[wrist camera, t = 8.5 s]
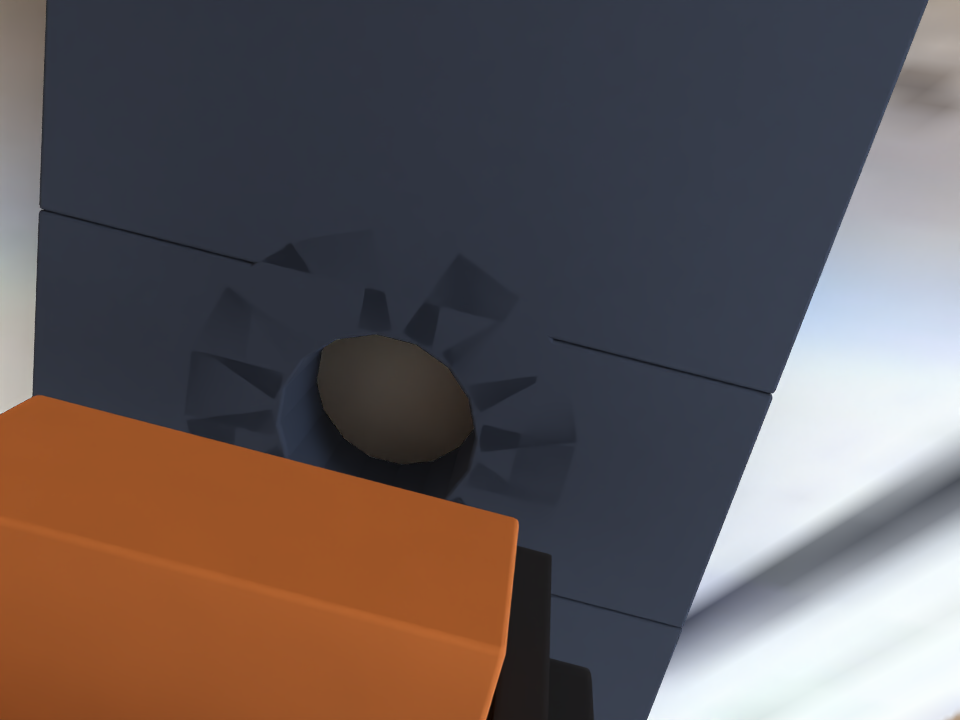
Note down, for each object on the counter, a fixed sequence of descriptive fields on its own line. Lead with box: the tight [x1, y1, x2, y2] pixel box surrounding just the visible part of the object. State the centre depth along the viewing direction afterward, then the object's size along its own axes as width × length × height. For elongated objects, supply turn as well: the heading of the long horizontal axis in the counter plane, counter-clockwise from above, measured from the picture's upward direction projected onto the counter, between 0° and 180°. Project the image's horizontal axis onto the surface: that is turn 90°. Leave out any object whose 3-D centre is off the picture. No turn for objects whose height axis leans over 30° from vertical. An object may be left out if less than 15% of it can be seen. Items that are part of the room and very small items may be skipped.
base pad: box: [32, 0, 928, 720], centre depth 15 cm, size 18×14×2 cm
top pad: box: [0, 395, 519, 720], centre depth 9 cm, size 6×5×4 cm
